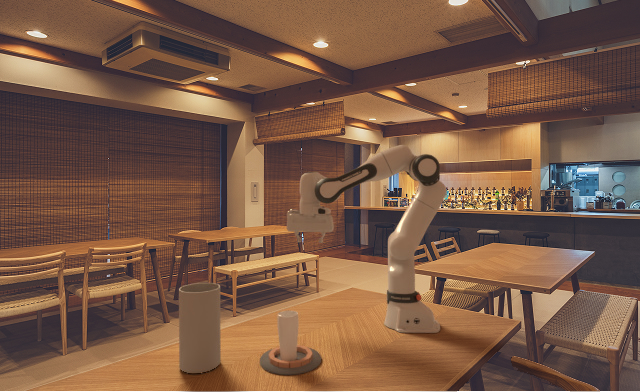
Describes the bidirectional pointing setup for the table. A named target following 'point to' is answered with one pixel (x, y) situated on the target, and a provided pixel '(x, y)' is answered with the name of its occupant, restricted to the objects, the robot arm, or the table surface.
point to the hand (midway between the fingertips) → (310, 242)
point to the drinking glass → (288, 334)
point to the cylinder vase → (199, 327)
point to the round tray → (290, 370)
